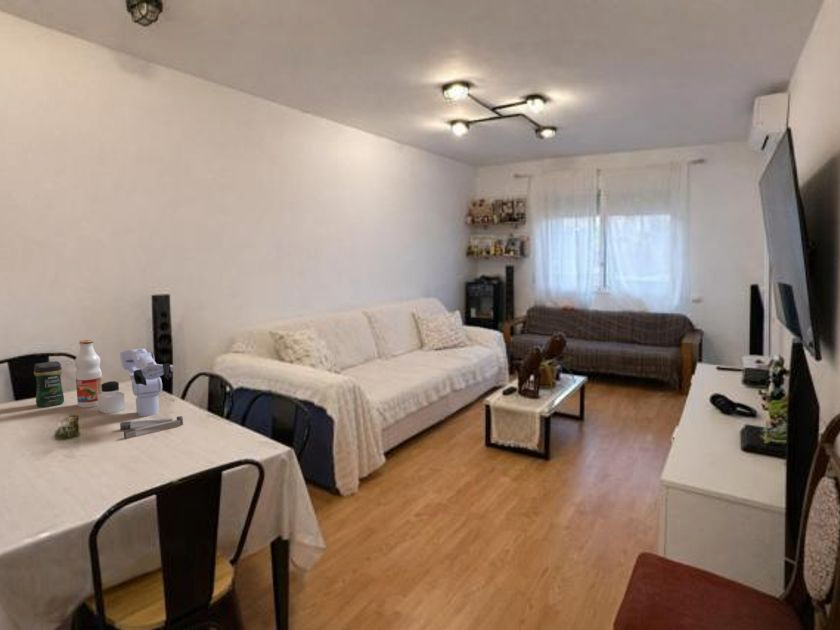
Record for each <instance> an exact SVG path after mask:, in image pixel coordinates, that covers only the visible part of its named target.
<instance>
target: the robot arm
mask: <svg viewBox="0 0 840 630" xmlns="http://www.w3.org/2000/svg"><path fill="white" fill-rule="evenodd" d="M119 353H120V354H119V358H120V360H119V361H120V363H121V366H122V368H123V369H124V370H125V371H126V370H127V371H129V379H130V381H131V390H132V393H133V395H134V396H136V399H135V407H136V408H135V409H136V413H137V414H138V416H139V417H150V416H156V415H157V414H159V413H160V405H159V404H160V403H159V395H160V393H161V392H162V391H163V382H162V377H161V376H164V378H165V379H166V380H167V381H170V380H171V377H172V372H175V369H174V365H173V364H170V363H162V364H159V363H157V362H156V361H155V360H156V359H155V355H154V352H153V351H150V352H148V351H147V349H146V348H144V347H143V348H136V349H128V350H127V349H126V350H121V351H120V352H119Z"/></svg>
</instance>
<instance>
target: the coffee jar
mask: <svg viewBox="0 0 840 630" xmlns="http://www.w3.org/2000/svg"><path fill="white" fill-rule="evenodd" d="M62 372H63V368H62V363H61V362H59V361H55V360H54V361H46V362H40V363H35V364H34V366H33V375H34V377H35V378H36V379H35V381H36V392H35V393H36V395H35V405H36V406H37V407H39V408H45V407H46V408H47V407H48V408H49V407H54V406H57V405H62V404H63V403H65V396H64V392H63V386H62V381H61V377H62V376H61V375H62Z"/></svg>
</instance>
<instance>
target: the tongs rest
mask: <svg viewBox="0 0 840 630" xmlns="http://www.w3.org/2000/svg"><path fill="white" fill-rule="evenodd" d="M183 425H184V420H183V416H182V415H179V416H177V417H176V420H174V419H173V421H170V422H165V423H161V424H156V425H152V426H147V427H143V428H138V429H128V430H126V431H125V430H124V431H123V437H124V439H126V440H127V439H131V438H134V437H140V436H144V435H148V434H153V433H156V432H161V431H166V430H169V429H174V428H179V427H181V426H183Z"/></svg>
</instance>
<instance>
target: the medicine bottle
mask: <svg viewBox="0 0 840 630" xmlns="http://www.w3.org/2000/svg"><path fill="white" fill-rule="evenodd" d="M119 385H120V384H119V382H118V381H114V380H113V381H112V380H111V381H105V382H103V384H102V385H101V387H102V394H98V406H97V408H98V411H99V412H101V413H104V414H106V415H109V414H112V413H116V412H120V411H124V410H125V409H126V405H125V393H124V392H121V391H120V386H119Z"/></svg>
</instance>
